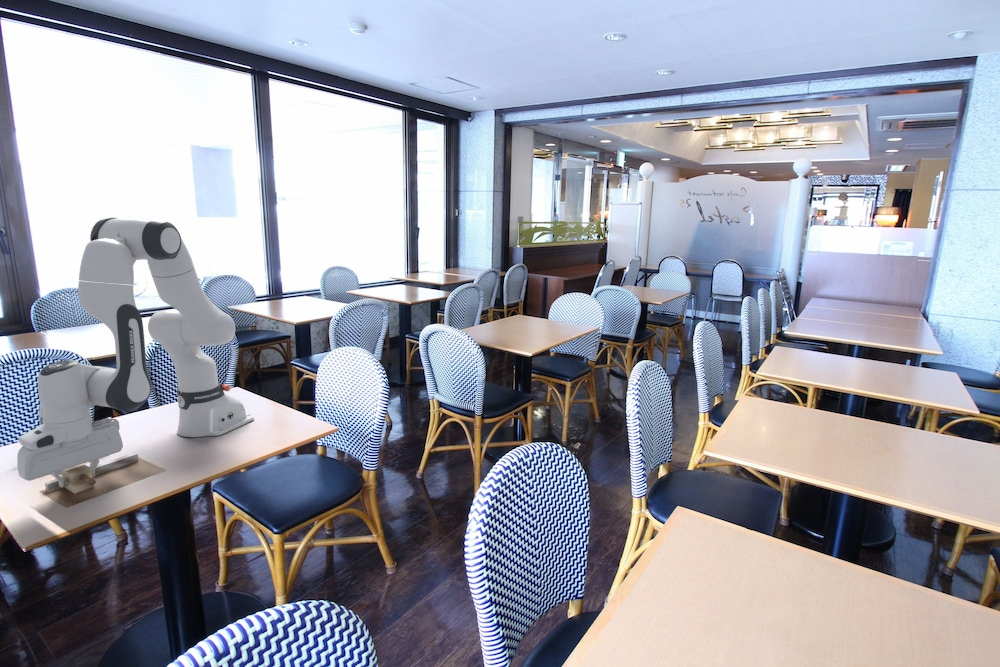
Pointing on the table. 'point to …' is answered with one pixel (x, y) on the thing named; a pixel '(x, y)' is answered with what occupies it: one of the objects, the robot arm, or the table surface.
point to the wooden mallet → (79, 478)
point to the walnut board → (105, 479)
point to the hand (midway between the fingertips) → (77, 481)
